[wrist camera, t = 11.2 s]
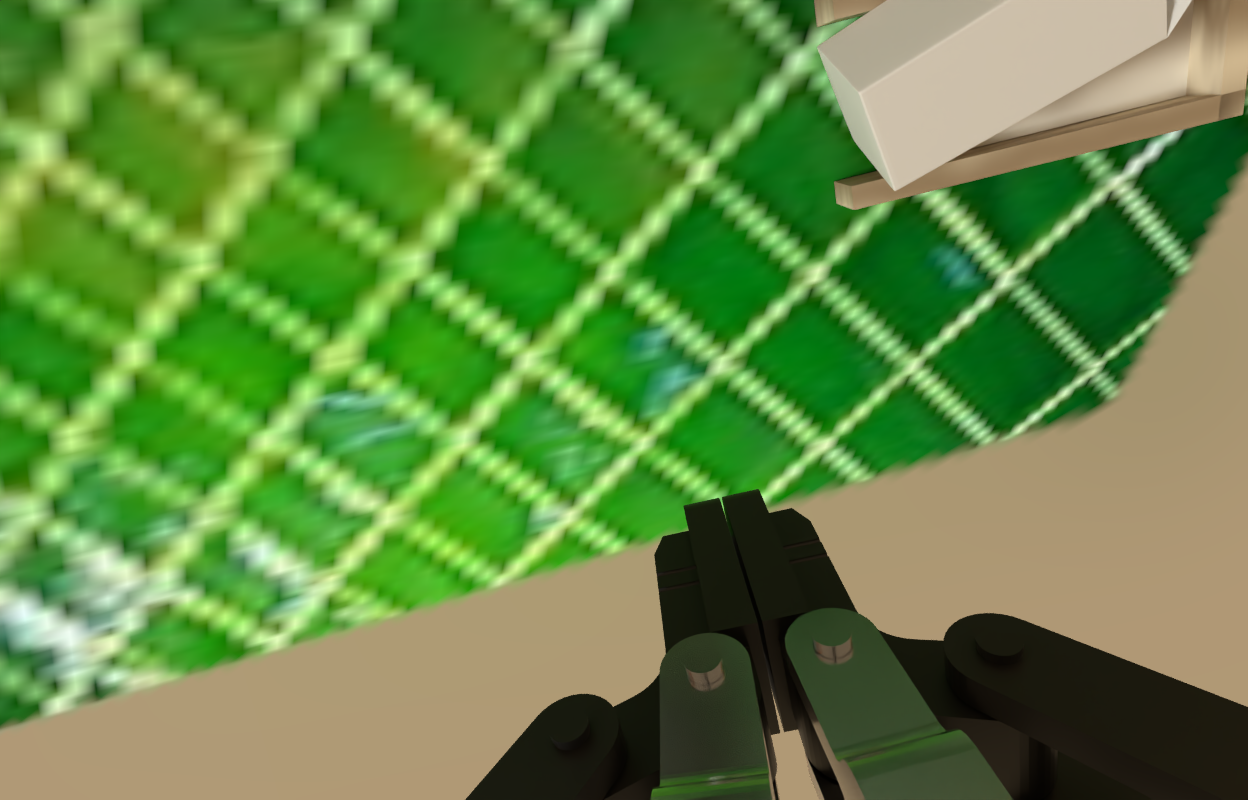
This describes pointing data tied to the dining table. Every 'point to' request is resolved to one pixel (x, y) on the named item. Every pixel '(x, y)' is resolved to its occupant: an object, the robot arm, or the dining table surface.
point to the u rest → (1095, 102)
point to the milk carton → (973, 69)
